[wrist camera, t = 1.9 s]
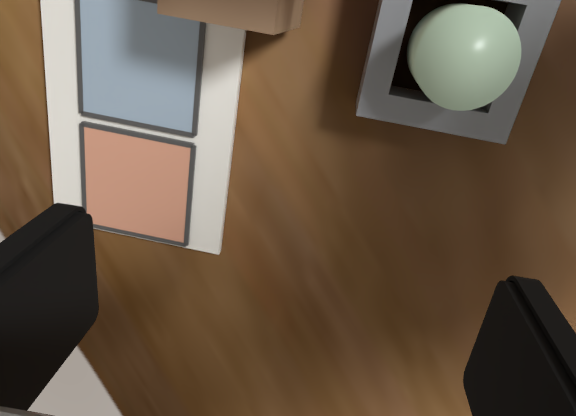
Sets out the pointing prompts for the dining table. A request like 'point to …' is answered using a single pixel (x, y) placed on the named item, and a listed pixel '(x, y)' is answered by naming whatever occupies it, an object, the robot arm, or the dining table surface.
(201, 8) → the walnut block
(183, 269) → the dining table surface
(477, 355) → the robot arm
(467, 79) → the button
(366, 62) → the button housing
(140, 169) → the picture card
